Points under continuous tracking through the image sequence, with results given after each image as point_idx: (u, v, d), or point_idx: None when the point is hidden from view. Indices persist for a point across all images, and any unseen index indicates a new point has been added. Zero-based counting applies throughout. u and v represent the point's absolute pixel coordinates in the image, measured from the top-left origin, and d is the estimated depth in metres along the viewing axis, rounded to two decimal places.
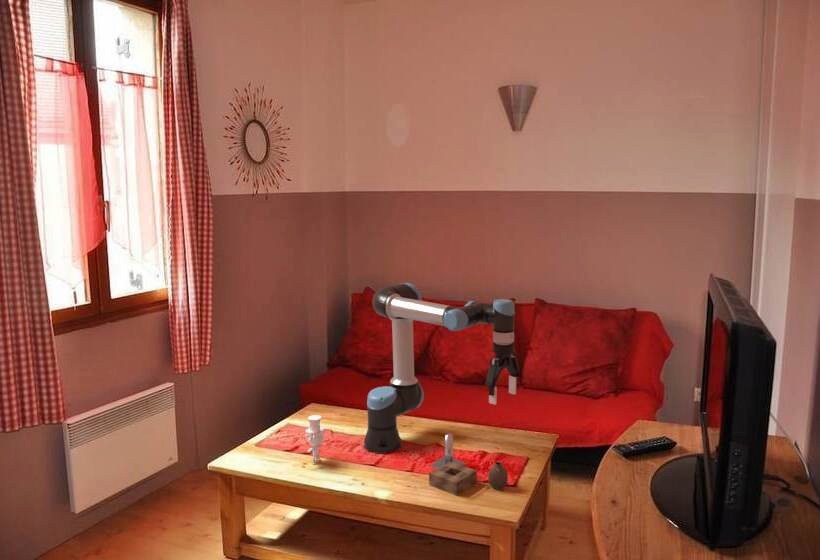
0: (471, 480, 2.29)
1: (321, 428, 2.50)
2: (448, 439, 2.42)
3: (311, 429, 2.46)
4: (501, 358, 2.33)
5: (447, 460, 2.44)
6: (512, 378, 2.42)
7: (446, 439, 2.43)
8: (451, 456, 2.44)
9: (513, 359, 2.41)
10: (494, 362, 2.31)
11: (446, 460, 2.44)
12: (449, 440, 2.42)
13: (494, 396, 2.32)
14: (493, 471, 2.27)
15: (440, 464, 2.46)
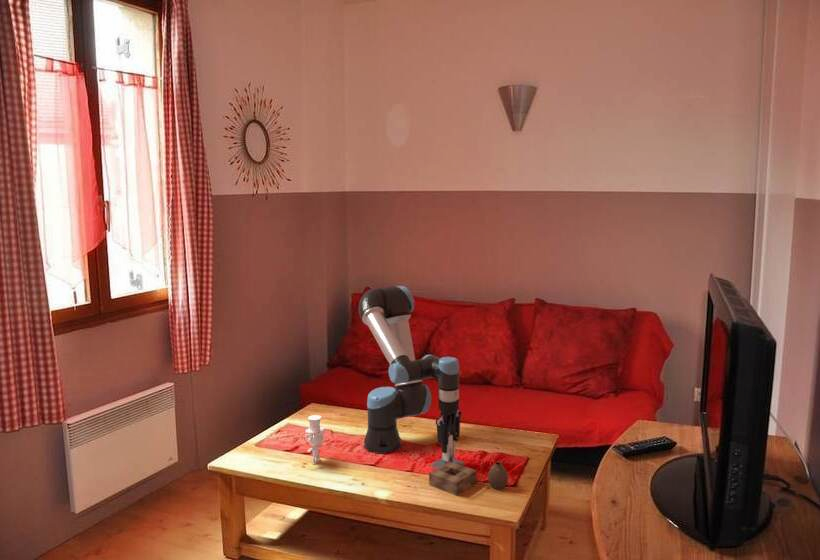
0: (471, 480, 2.29)
1: (321, 428, 2.50)
2: None
3: (311, 429, 2.46)
4: (445, 415, 2.39)
5: None
6: None
7: None
8: (451, 456, 2.44)
9: (457, 418, 2.46)
10: (439, 424, 2.37)
11: None
12: (449, 440, 2.42)
13: (447, 453, 2.42)
14: (493, 471, 2.27)
15: (440, 464, 2.46)
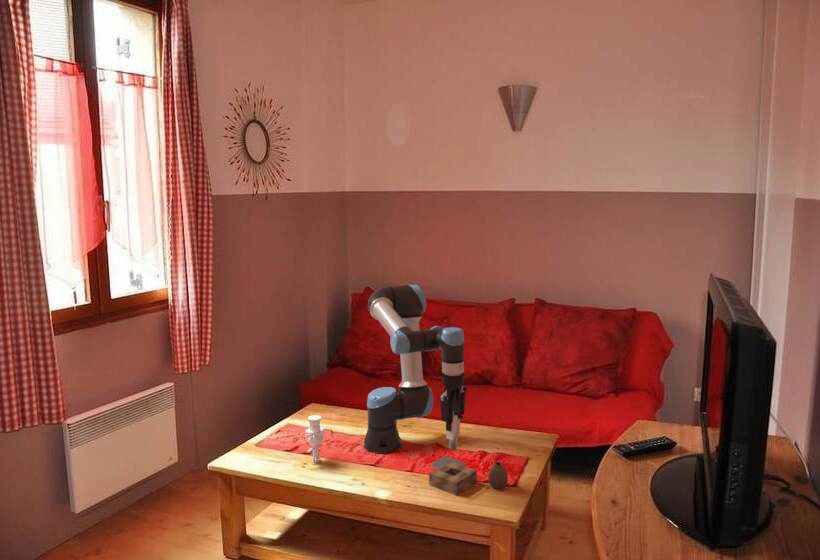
0: (471, 480, 2.29)
1: (321, 428, 2.50)
2: (452, 419, 2.25)
3: (311, 429, 2.46)
4: (449, 390, 2.22)
5: (451, 442, 2.27)
6: None
7: None
8: (456, 437, 2.27)
9: (462, 394, 2.29)
10: (443, 400, 2.20)
11: (450, 442, 2.27)
12: (453, 420, 2.25)
13: (451, 431, 2.25)
14: (493, 471, 2.27)
15: (440, 464, 2.46)
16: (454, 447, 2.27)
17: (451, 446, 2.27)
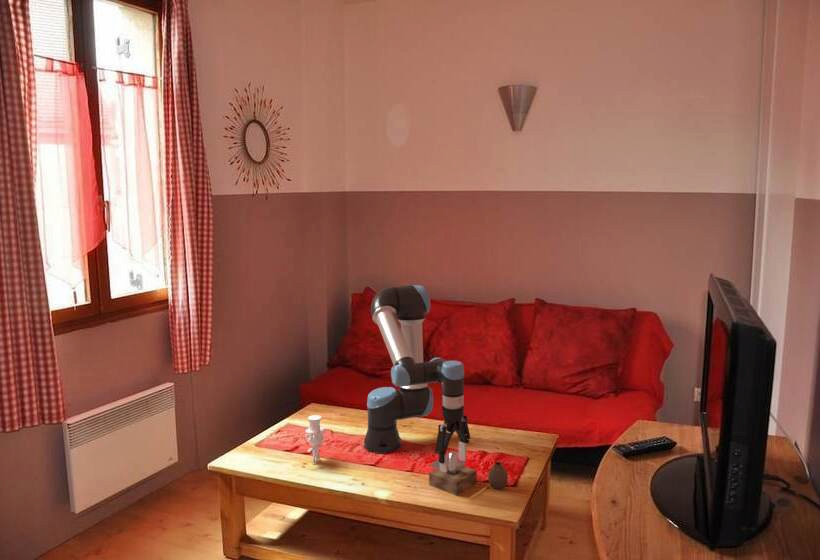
0: (471, 480, 2.29)
1: (321, 428, 2.50)
2: (452, 458, 2.28)
3: (311, 429, 2.46)
4: (450, 423, 2.24)
5: None
6: (462, 444, 2.32)
7: (449, 458, 2.28)
8: None
9: (464, 423, 2.31)
10: (442, 429, 2.22)
11: None
12: (453, 459, 2.28)
13: (444, 464, 2.24)
14: (493, 471, 2.27)
15: None
16: None
17: None
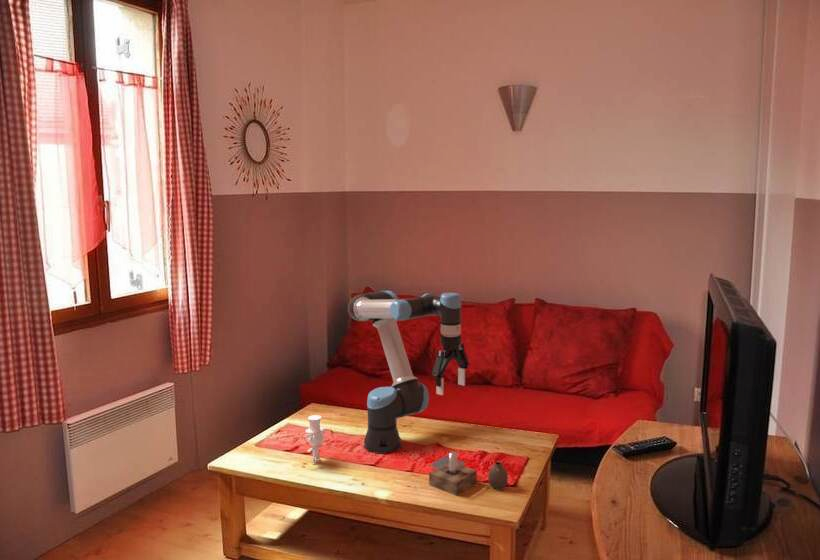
0: (471, 480, 2.29)
1: (321, 428, 2.50)
2: (452, 458, 2.28)
3: (311, 429, 2.46)
4: (448, 350, 2.39)
5: None
6: (461, 370, 2.49)
7: (450, 458, 2.28)
8: None
9: (461, 351, 2.47)
10: (440, 354, 2.37)
11: None
12: (453, 459, 2.28)
13: (441, 387, 2.39)
14: (493, 471, 2.27)
15: (440, 464, 2.46)
16: None
17: None
